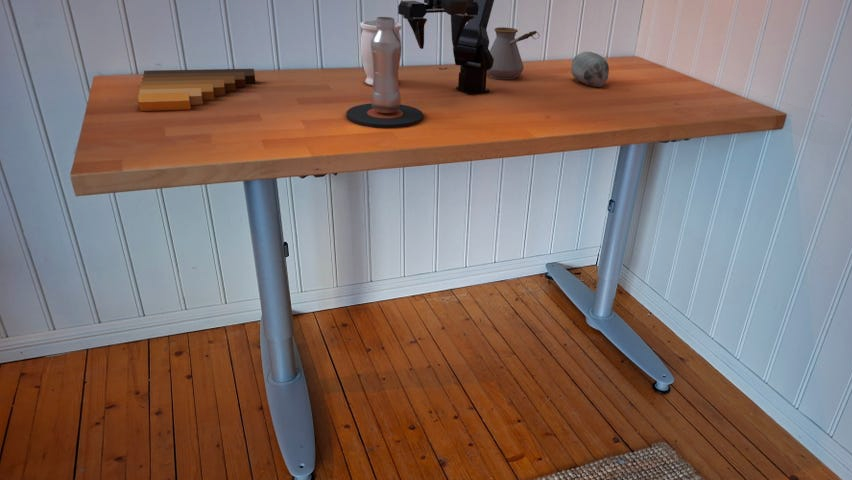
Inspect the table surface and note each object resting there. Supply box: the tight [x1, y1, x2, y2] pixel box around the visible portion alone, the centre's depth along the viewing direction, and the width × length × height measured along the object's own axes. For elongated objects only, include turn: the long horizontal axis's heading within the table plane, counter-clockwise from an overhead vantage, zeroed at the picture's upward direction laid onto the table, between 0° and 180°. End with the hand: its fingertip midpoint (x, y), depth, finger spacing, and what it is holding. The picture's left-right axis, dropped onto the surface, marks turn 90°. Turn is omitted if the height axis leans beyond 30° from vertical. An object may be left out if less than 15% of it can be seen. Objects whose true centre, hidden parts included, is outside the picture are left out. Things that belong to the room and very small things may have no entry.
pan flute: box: [137, 68, 256, 112], centre depth 158 cm, size 25×3×25 cm
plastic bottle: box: [370, 16, 402, 113], centre depth 147 cm, size 6×7×20 cm
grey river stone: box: [570, 51, 610, 88], centre depth 191 cm, size 14×10×10 cm
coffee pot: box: [487, 26, 541, 80], centre depth 186 cm, size 21×12×15 cm, turn 28°
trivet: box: [346, 102, 424, 129], centre depth 152 cm, size 17×17×1 cm
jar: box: [359, 19, 402, 87], centre depth 175 cm, size 11×10×15 cm
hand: (438, 47), depth 159 cm, fingers open, 9 cm apart
